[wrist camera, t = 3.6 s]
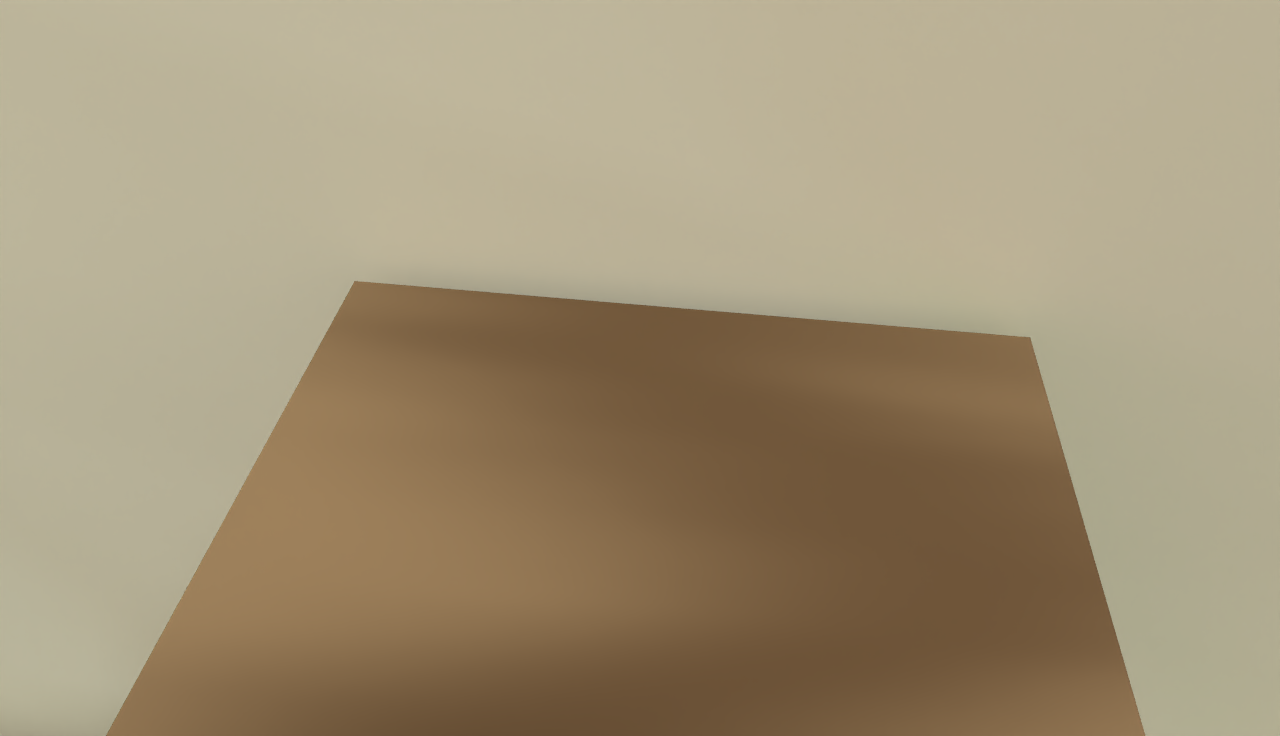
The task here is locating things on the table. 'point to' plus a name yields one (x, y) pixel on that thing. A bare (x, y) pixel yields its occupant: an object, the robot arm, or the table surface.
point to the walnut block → (645, 536)
